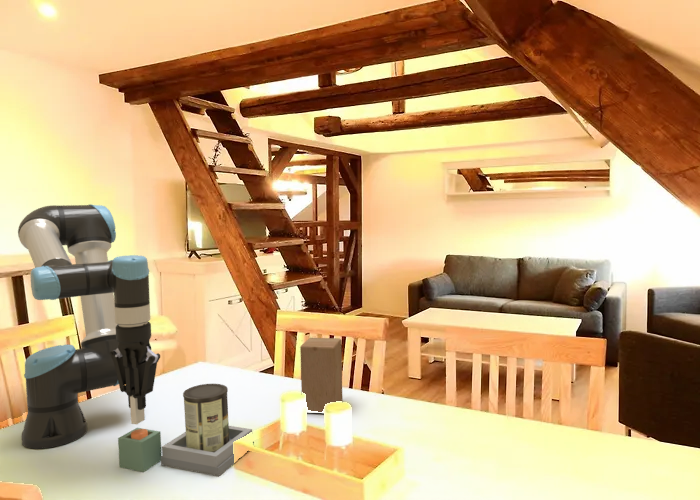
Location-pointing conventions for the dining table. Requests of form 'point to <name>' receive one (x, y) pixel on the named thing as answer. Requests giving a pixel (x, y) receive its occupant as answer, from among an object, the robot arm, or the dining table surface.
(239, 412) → the dining table surface
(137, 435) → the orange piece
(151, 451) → the green egg cup
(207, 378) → the dining table surface
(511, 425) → the dining table surface
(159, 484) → the dining table surface
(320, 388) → the wooden block
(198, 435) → the coffee can
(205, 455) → the tray
